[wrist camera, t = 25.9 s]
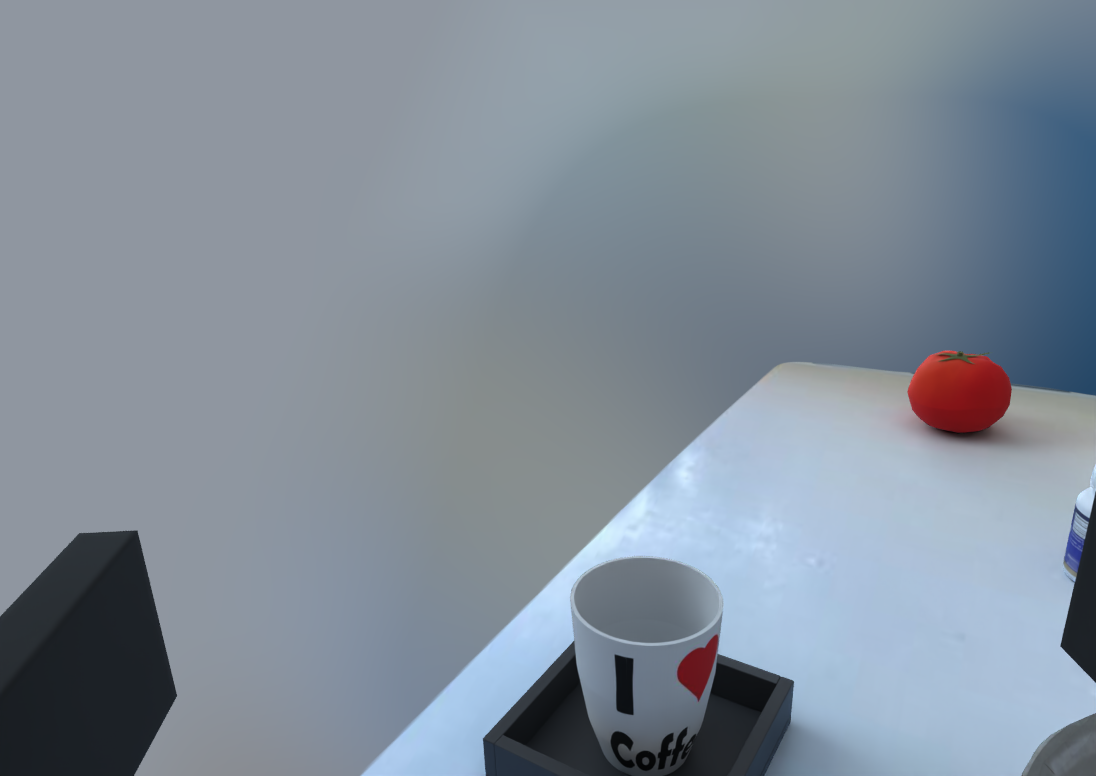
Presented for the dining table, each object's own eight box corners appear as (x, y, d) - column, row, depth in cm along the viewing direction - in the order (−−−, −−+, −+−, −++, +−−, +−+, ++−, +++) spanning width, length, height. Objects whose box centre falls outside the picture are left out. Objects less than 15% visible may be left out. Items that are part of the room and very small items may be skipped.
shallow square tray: (485, 781, 46) (482, 738, 45) (600, 650, 56) (600, 612, 55) (705, 895, 39) (707, 847, 38) (790, 721, 49) (794, 680, 48)
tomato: (1022, 431, 87) (1036, 356, 84) (957, 452, 83) (969, 374, 80) (946, 403, 95) (957, 333, 92) (883, 421, 91) (892, 349, 88)
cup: (592, 812, 43) (589, 656, 40) (561, 704, 51) (557, 565, 47) (738, 785, 44) (748, 632, 41) (687, 684, 52) (692, 547, 48)
